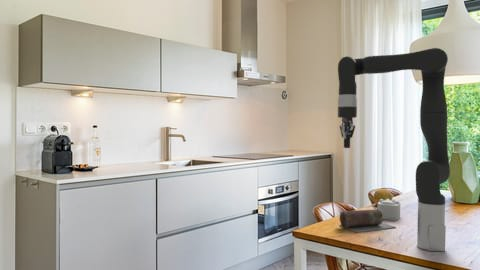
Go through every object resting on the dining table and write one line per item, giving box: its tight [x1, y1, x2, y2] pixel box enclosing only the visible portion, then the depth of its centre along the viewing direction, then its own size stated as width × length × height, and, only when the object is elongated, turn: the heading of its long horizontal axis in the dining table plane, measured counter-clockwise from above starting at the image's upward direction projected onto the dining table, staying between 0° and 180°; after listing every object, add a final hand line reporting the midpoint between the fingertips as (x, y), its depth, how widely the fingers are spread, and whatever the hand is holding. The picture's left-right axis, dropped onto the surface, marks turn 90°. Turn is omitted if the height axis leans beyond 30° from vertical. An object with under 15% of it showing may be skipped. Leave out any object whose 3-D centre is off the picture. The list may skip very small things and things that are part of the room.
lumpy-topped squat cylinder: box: [377, 198, 401, 221], centre depth 195 cm, size 10×13×9 cm
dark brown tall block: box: [339, 208, 384, 229], centre depth 173 cm, size 8×7×20 cm
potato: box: [372, 188, 393, 207], centre depth 222 cm, size 10×12×10 cm
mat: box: [339, 222, 397, 233], centre depth 174 cm, size 22×12×1 cm, turn 112°
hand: (346, 147), depth 158 cm, fingers closed
